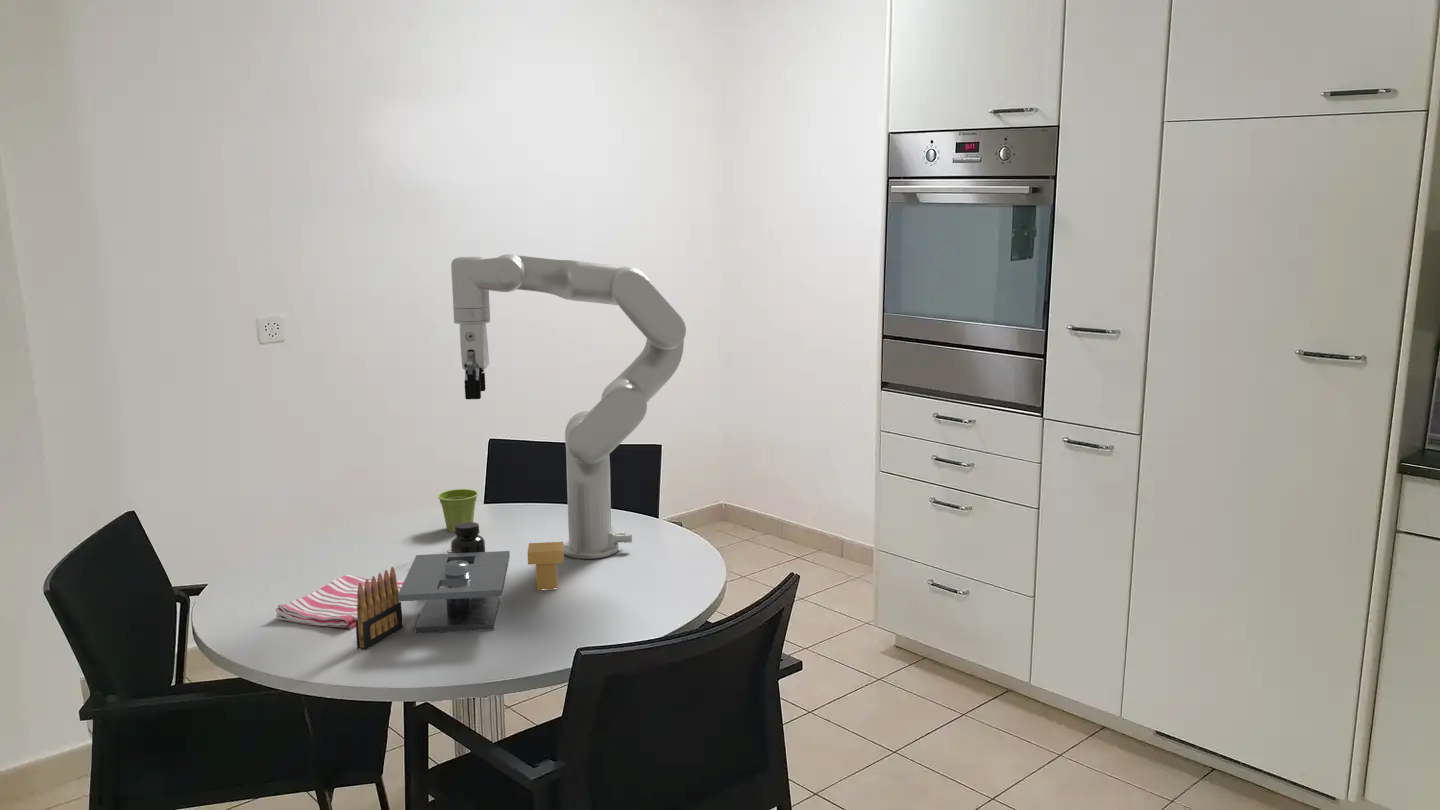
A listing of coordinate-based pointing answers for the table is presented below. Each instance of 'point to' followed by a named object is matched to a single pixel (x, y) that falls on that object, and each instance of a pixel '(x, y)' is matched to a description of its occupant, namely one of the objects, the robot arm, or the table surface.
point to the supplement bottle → (467, 539)
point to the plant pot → (458, 506)
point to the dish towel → (327, 604)
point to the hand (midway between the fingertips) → (475, 394)
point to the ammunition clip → (378, 610)
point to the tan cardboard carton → (546, 562)
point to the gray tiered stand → (456, 590)
